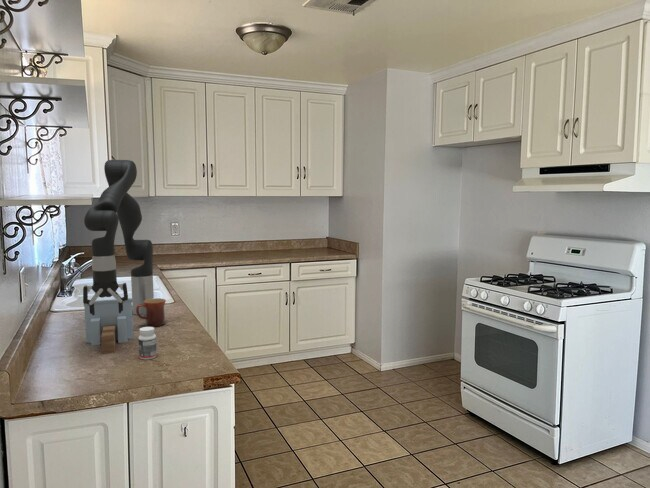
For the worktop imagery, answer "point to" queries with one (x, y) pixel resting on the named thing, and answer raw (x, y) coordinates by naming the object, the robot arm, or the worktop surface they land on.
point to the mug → (153, 312)
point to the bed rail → (108, 339)
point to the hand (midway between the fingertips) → (106, 313)
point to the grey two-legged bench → (108, 320)
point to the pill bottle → (147, 343)
